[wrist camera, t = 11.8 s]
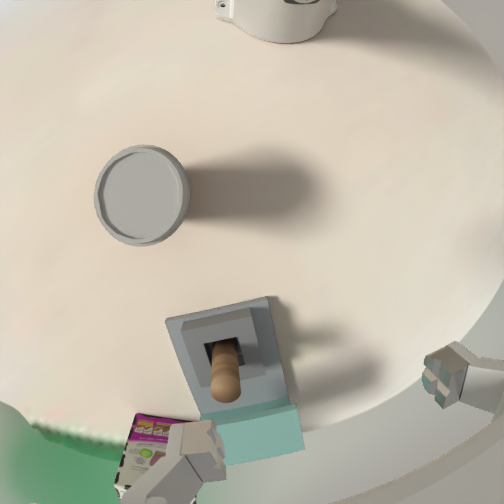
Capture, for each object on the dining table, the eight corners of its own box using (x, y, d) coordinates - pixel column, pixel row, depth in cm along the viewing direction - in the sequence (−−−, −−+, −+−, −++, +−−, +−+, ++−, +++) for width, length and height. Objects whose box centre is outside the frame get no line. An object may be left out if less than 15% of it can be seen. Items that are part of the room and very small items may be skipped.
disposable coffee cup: (141, 150, 35) (107, 132, 23) (210, 171, 36) (203, 159, 25) (119, 220, 36) (79, 230, 25) (186, 242, 38) (170, 262, 26)
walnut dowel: (210, 336, 39) (206, 383, 28) (233, 331, 39) (237, 377, 28) (216, 356, 40) (215, 405, 29) (238, 351, 40) (244, 399, 29)
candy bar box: (138, 431, 43) (117, 500, 27) (135, 412, 42) (111, 483, 26) (200, 440, 44) (196, 513, 28) (200, 421, 43) (196, 498, 27)
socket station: (166, 318, 39) (146, 363, 28) (266, 296, 40) (282, 335, 28) (203, 414, 43) (200, 468, 31) (288, 397, 43) (304, 449, 32)
